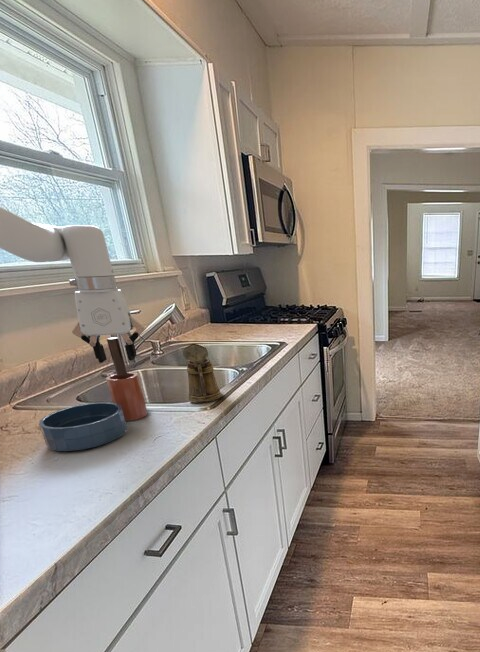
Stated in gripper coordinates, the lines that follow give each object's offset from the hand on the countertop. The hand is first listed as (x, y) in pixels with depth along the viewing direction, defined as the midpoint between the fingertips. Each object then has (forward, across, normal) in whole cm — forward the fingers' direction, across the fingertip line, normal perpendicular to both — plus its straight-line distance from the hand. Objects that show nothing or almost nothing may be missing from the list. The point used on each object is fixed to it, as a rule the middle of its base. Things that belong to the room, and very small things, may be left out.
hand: (117, 359), depth 100 cm
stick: (+15, 0, 0) cm, 15 cm away
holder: (+15, 0, 0) cm, 15 cm away
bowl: (+15, -6, -12) cm, 20 cm away
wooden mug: (+15, +17, +7) cm, 24 cm away
